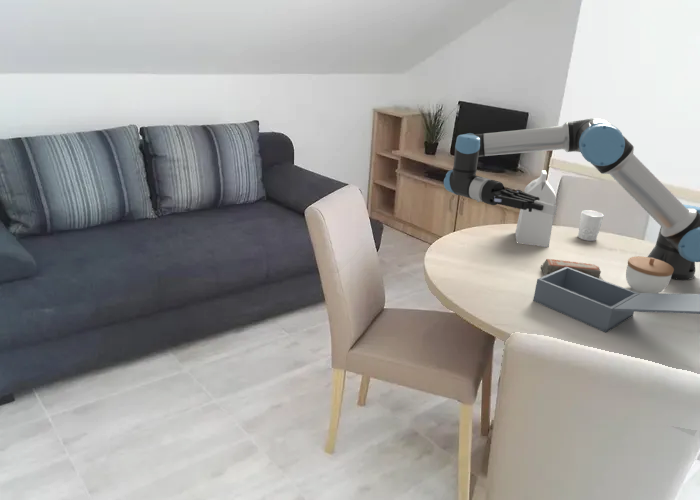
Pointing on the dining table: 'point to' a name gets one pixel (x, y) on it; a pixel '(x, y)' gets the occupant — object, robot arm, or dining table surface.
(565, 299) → the mailer box
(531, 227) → the milk
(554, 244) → the dining table surface
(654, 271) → the lidded bowl
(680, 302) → the lid
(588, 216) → the white cup
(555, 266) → the packaged product
